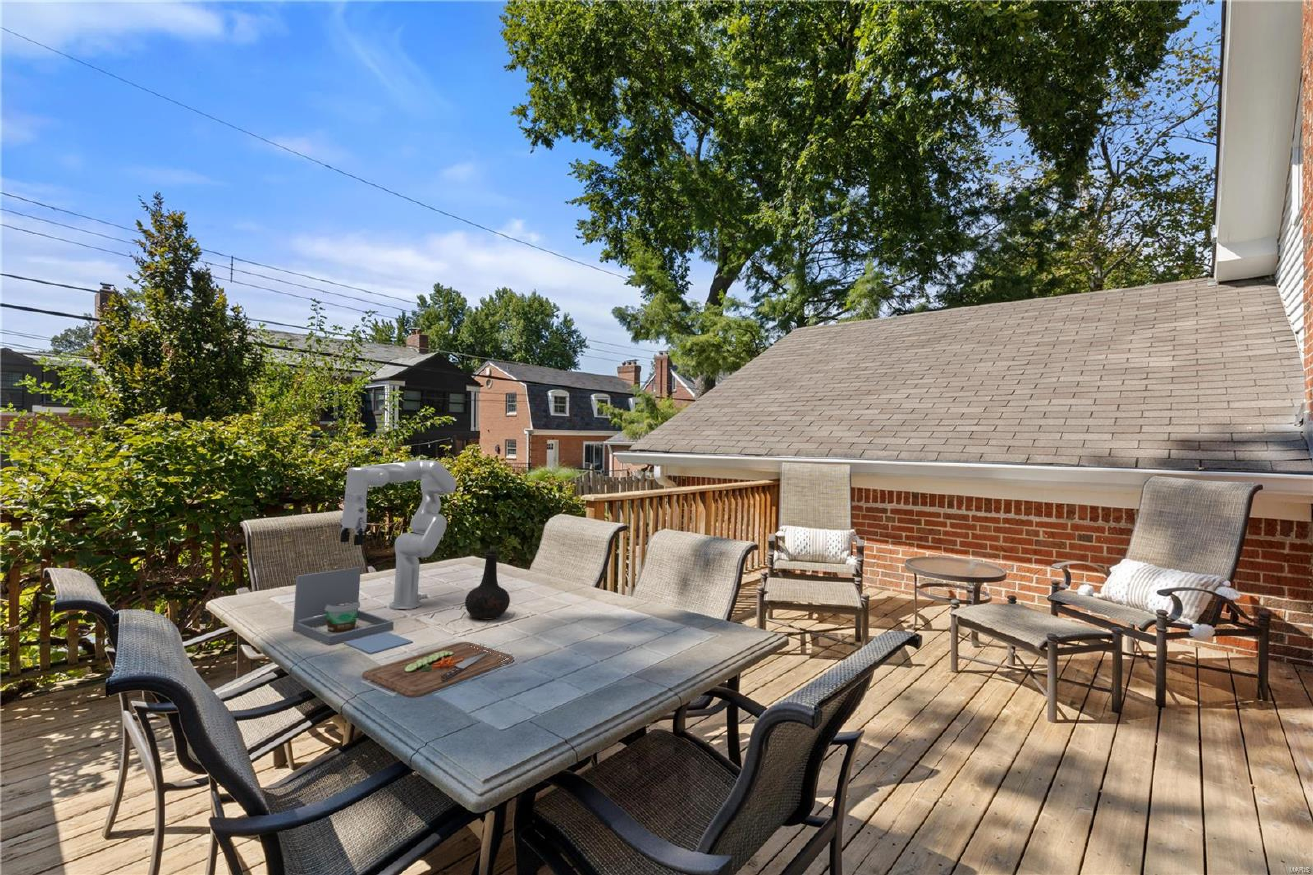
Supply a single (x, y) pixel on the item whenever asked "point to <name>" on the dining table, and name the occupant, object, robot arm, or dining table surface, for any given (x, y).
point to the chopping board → (435, 669)
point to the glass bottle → (488, 592)
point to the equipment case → (331, 591)
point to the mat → (378, 642)
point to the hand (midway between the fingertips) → (351, 543)
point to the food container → (342, 616)
